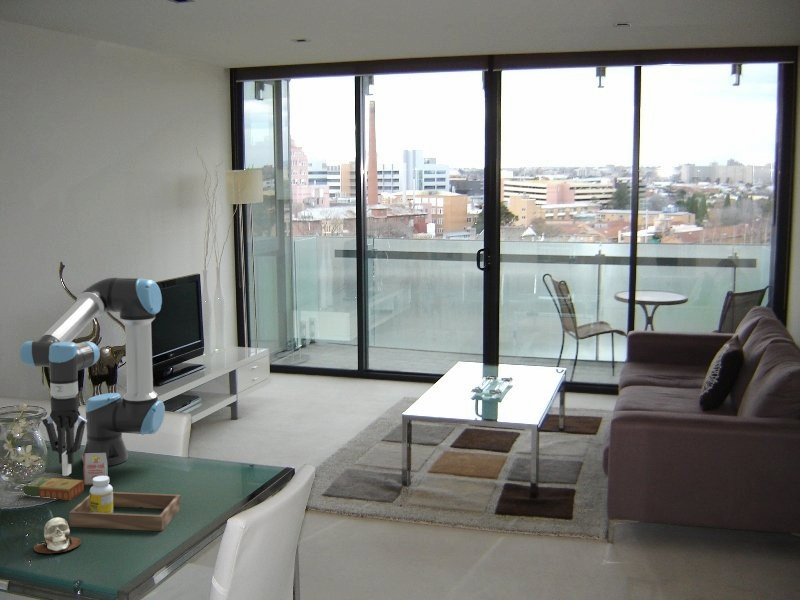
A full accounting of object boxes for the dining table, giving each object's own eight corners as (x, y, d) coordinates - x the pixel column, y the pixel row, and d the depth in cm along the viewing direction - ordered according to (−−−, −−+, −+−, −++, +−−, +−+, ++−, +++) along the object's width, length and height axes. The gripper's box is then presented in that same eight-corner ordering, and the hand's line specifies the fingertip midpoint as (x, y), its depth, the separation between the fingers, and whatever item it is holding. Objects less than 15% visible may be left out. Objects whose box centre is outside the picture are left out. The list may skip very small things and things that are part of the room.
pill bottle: (89, 513, 258) (88, 476, 256) (112, 510, 261) (111, 473, 259) (91, 521, 252) (89, 483, 250) (114, 518, 255) (113, 480, 253)
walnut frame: (94, 504, 265) (93, 491, 265) (181, 508, 263) (180, 494, 263) (69, 526, 248) (69, 512, 248) (162, 530, 247) (161, 516, 246)
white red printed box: (86, 481, 285) (85, 451, 283) (107, 480, 286) (107, 451, 284) (84, 485, 281) (83, 455, 280) (105, 484, 282) (104, 454, 281)
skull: (86, 547, 233) (58, 524, 229) (57, 576, 231) (27, 553, 227) (83, 528, 244) (56, 506, 240) (55, 556, 242) (27, 534, 238)
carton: (69, 502, 268) (69, 488, 267) (22, 497, 270) (21, 484, 270) (84, 492, 276) (83, 479, 275) (38, 488, 279) (37, 475, 278)
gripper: (36, 398, 248) (39, 477, 252) (80, 399, 248) (83, 479, 251) (48, 391, 256) (51, 469, 259) (91, 393, 255) (93, 470, 258)
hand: (66, 474), depth 255 cm, fingers closed
